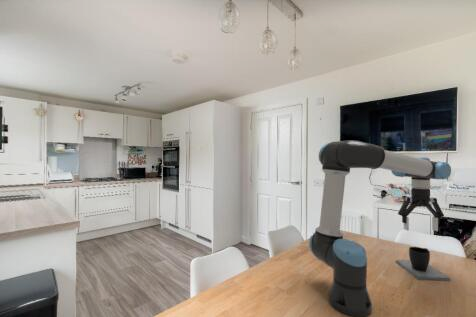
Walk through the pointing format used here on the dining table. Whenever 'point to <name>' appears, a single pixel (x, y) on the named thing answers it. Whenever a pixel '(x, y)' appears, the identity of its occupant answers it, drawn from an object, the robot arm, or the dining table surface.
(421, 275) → the slate board
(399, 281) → the dining table surface
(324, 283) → the dining table surface
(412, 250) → the mug
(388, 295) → the dining table surface
